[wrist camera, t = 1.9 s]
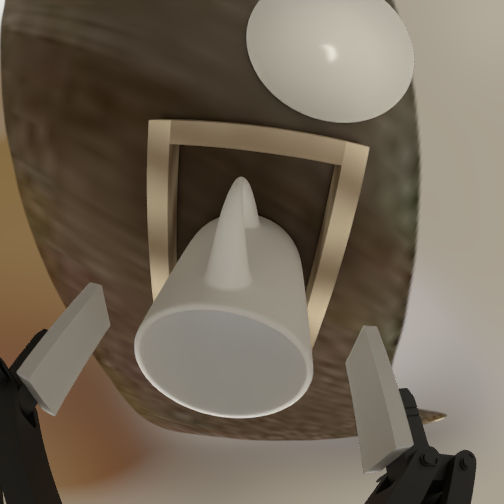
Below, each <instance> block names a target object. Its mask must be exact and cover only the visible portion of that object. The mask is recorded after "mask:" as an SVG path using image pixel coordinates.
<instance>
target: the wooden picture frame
mask: <svg viewBox="0 0 504 504" xmlns="http://www.w3.org/2000/svg"><path fill="white" fill-rule="evenodd" d="M179 145H196V146H209V147H220V148H230V149H240V150H248V151H256V152H264V153H271V154H278V155H285V156H291V157H298V158H304V159H309V160H315V161H320V162H326V163H331V164H335V165H334V171H333V176H332V181H331V186H330V191H329V195H328V200H327V205H326V210H325V214H324V219H323V223H322V227H321V232H320V236H319V240H318V245H317V249H316V253H315V257H314V261H313V265H312V269H311V273H310V277H309V281H308V284H307V288H306V292H305V294H306V303H307V311H308V320H309V329H310V339H311V349H312V348H313V346H314V343H315V340H316V338H317V335H318V332H319V329H320V327H321V324H322V321H323V318H324V315H325V312H326V309H327V306H328V303H329V300H330V297H331V294H332V291H333V288H334V285H335V282H336V279H337V275H338V272H339V269H340V265H341V262H342V259H343V255H344V252H345V248H346V245H347V241H348V238H349V234H350V230H351V226H352V223H353V219H354V215H355V211H356V207H357V203H358V199H359V194H360V190H361V186H362V181H363V177H364V172H365V167H366V163H367V158H368V153H369V148H370V147H367V146H365V145H362V144H359V143H355V142H351V141H347V140H342V139H337V138H333V137H328V136H323V135H318V134H312V133H307V132H301V131H295V130H289V129H282V128H275V127H268V126H260V125H252V124H242V123H232V122H220V121H205V120H185V119H156V120H149V128H148V150H147V218H148V242H149V258H150V271H151V283H152V293H153V302H154V301H155V299H156V297H157V296H158V294H159V292H160V291H161V289H162V287H163V285H164V284H165V282H166V280H167V279H168V277H169V275H170V274H171V272H172V270H173V269H174V267H175V265H176V264H177V187H178V163H179Z"/></svg>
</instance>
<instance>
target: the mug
mask: <svg viewBox="0 0 504 504" xmlns="http://www.w3.org/2000/svg"><path fill="white" fill-rule="evenodd" d="M134 349H135V356H136V360H137V363H138V365H139V367H140V369H141V371H142V372H143V374H144V375H145V377H146V378H147V379H148V380H149V381H150V382H151V384H152V385H153V386H154V387H156V388H157V389H158V390H159V391H160V392H162V393H163V394H164V395H166V396H167V397H169V398H170V399H172V400H174V401H175V402H177V403H179V404H181V405H183V406H185V407H188V408H190V409H193V410H195V411H198V412H202V413H205V414H209V415H214V416H219V417H228V418H252V417H260V416H265V415H269V414H272V413H276V412H278V411H281V410H283V409H285V408H287V407H289V406H291V405H292V404H294V403H295V402H296V401H298V400H299V399H300V398H301V397H302V396H303V395H304V393H305V392H306V391H307V389H308V387H309V385H310V383H311V380H312V377H313V360H312V349H311V339H310V329H309V320H308V311H307V303H306V294H305V286H304V278H303V271H302V264H301V259H300V255H299V252H298V250H297V247H296V245H295V244H294V242H293V240H292V239H291V237H290V236H289V235H288V234H287V233H286V231H285V230H284V229H283V228H281V227H280V226H279V225H277V224H276V223H274V222H272V221H271V220H269V219H266V218H264V217H261V216H258V212H257V208H256V203H255V199H254V195H253V192H252V189H251V187H250V184H249V182H248V181H247V180H246V179H245V178H244V177H238V178H237V179H236V180H235V181H234V183H233V184H232V186H231V188H230V190H229V192H228V194H227V197H226V199H225V202H224V205H223V208H222V211H221V214H220V217H219V218H216V219H214V220H212V221H210V222H209V223H207V224H206V225H205V226H203V227H202V228H201V229H200V230H199V231H198V232H197V233H196V235H195V236H194V237H193V239H192V240H191V241H190V243H189V244H188V246H187V248H186V249H185V251H184V252H183V254H182V256H181V257H180V259H179V261H178V262H177V264H176V265H175V267H174V269H173V270H172V272H171V274H170V275H169V277H168V279H167V280H166V282H165V284H164V285H163V287H162V289H161V291H160V292H159V294H158V296H157V297H156V299H155V301H154V303H153V304H152V306H151V308H150V310H149V311H148V313H147V315H146V317H145V318H144V320H143V322H142V324H141V325H140V327H139V329H138V331H137V334H136V336H135V342H134Z"/></svg>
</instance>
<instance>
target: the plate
mask: <svg viewBox="0 0 504 504" xmlns="http://www.w3.org/2000/svg"><path fill="white" fill-rule="evenodd" d="M246 41H247V50H248V54H249V58H250V60H251V63H252V65H253V68H254V70H255V72H256V73H257V75H258V77H259V79H260V80H261V81H262V83H263V84H264V85H265V87H266V88H267V89H268V90H269V91H270V92H271V93H272V94H273V95H274V96H275V97H276V98H278V99H279V100H280V101H281V102H282V103H284V104H285V105H287V106H288V107H290V108H291V109H293V110H295V111H297V112H299V113H301V114H304V115H306V116H309V117H312V118H315V119H319V120H323V121H330V122H336V123H351V122H360V121H364V120H369V119H371V118H374V117H377V116H379V115H381V114H383V113H385V112H387V111H388V110H389V109H391V108H392V107H393V106H394V105H395V104H396V103H397V102H398V101H399V100H400V99H401V98H402V97H403V95H404V94H405V93H406V91H407V89H408V87H409V85H410V82H411V79H412V76H413V71H414V50H413V45H412V42H411V38H410V36H409V33H408V31H407V29H406V27H405V25H404V23H403V21H402V20H401V18H400V17H399V16H398V14H397V13H396V12H395V10H394V9H393V8H392V7H391V6H390V5H389V4H388V3H387V2H386V1H385V0H260V1H259V2H258V3H257V5H256V6H255V8H254V9H253V11H252V14H251V16H250V18H249V22H248V26H247V34H246Z"/></svg>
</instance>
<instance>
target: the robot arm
mask: <svg viewBox="0 0 504 504" xmlns="http://www.w3.org/2000/svg"><path fill="white" fill-rule="evenodd" d="M109 327H110V321H109V317H108V313H107V309H106V304H105V299H104V295H103V290H102V285H99V284H94V283H89V284H88V285H87V286H86V287H85V288H84V290H83V291H82V292H81V293H80V294H79V295H78V296H77V297H76V298H75V300H74V301H73V302H72V303H71V304H70V305H69V306H68V308H67V309H66V310H65V311H64V312H63V313H62V315H61V316H60V317H59V318H58V319H57V321H56V322H55V323H54V324H53V325H52V326H51V328H50V329H49V330H46V329H43V330H42V331H40V332H38V333H37V334H36V335H35V336H34V337H33V339H32V340H31V341H30V343H28V345H27V346H26V348H25V349H24V350H23V351H22V352H21V354H20V355H19V356H18V357H17V359H16V360H15V362H14V363H13V364H12V365H11V367H10V368H9V369H8V367H7V366H6V364H5V363H4V361H3V360H2V359H1V358H0V504H4V503H3V493H4V497H5V500H6V504H62V502H61V499H60V496H59V494H58V491H57V488H56V485H55V482H54V479H53V476H52V473H51V470H50V466H49V463H48V459H47V455H46V451H45V448H44V444H43V439H42V435H41V430H40V425H39V419H38V413H37V410H36V408H35V406H36V405H37V403H38V404H39V406H40V407H41V408H42V410H44V411H46V412H47V413H49V414H51V415H53V416H55V415H56V414H57V412H58V410H59V408H60V406H61V405H62V403H63V401H64V399H65V397H66V396H67V394H68V392H69V391H70V389H71V387H72V385H73V384H74V382H75V380H76V379H77V377H78V375H79V374H80V372H81V370H82V369H83V367H84V366H85V364H86V362H87V361H88V359H89V357H90V356H91V354H92V353H93V351H94V350H95V348H96V347H97V345H98V343H99V342H100V340H101V339H102V337H103V336H104V334H105V333H106V331H107V330H108V328H109ZM346 368H347V373H348V379H349V384H350V389H351V395H352V400H353V406H354V412H355V418H356V424H357V431H358V438H359V444H360V451H361V459H362V468H363V474H366V473H375V472H380V471H381V470H383V469H384V468H385V467H386V469H387V473H386V474H384V475H383V476H381V477H380V478H379V479H378V480H377V481H376V482H379V481H380V483H379V484H378V486H377V487H376V488H375V490H374V492H373V493H372V494H371V495H370V497H369V498H368V500H367V501H366V502H365V504H471V499H472V493H473V486H474V480H475V472H476V458H475V456H474V454H473V453H472V452H470V451H468V450H463V451H460V452H459V453H457V454H456V455H455V456H454V455H444V454H439V453H438V451H437V450H436V449H435V448H433V447H430V446H429V445H428V442H427V439H426V435H425V432H424V428H423V425H422V421H421V418H420V416H419V411H418V408H417V405H416V402H415V399H414V397H413V395H412V394H411V393H410V391H409V390H408V389H407V388H402V389H398V386H397V383H396V380H395V377H394V374H393V371H392V368H391V365H390V362H389V359H388V356H387V353H386V350H385V348H384V345H383V342H382V339H381V336H380V334H379V331H378V328H377V326H363V327H362V329H361V331H360V333H359V336H358V338H357V340H356V342H355V344H354V346H353V348H352V350H351V353H350V355H349V357H348V359H347V361H346Z"/></svg>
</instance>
